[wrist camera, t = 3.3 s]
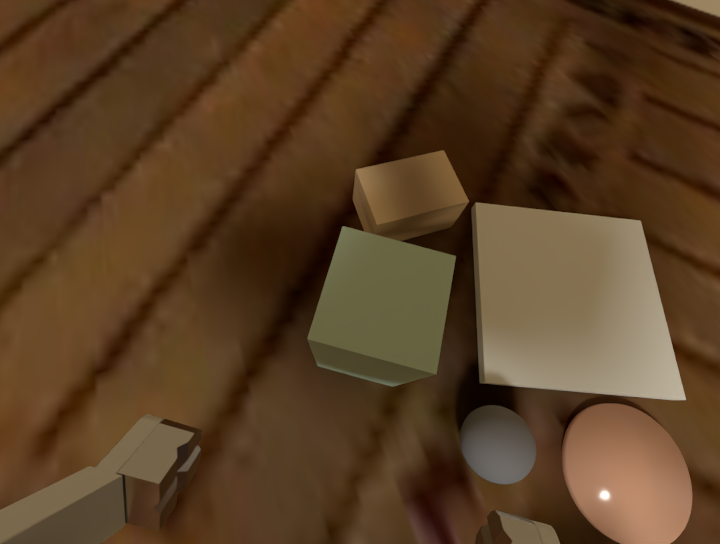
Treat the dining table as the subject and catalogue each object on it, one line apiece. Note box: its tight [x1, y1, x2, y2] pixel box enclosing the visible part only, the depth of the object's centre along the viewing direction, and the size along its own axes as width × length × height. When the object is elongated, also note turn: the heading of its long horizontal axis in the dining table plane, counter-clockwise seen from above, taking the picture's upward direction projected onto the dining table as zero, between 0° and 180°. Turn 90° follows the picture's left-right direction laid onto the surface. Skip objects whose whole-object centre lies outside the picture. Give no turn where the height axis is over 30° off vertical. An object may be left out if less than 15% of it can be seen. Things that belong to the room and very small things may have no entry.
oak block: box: [353, 150, 469, 241], centre depth 23 cm, size 6×4×4 cm, turn 108°
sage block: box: [307, 226, 456, 387], centre depth 17 cm, size 4×4×9 cm
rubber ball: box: [460, 405, 536, 484], centre depth 17 cm, size 4×4×4 cm
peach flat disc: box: [561, 403, 692, 544], centre depth 19 cm, size 7×7×1 cm
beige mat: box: [471, 202, 686, 400], centre depth 22 cm, size 12×12×1 cm
